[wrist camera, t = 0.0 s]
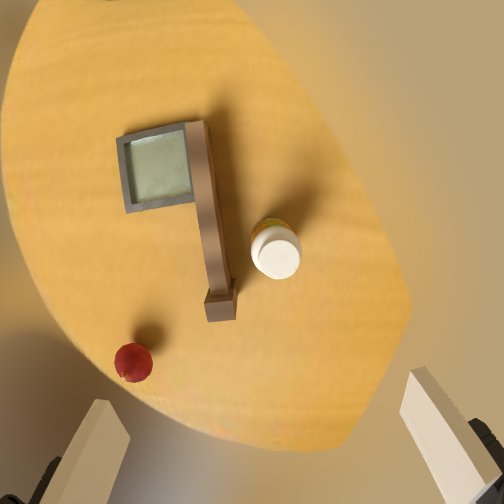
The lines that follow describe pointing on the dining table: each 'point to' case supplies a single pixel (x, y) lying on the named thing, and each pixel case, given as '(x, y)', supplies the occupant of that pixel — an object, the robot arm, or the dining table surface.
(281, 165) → the dining table surface
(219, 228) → the door edge rail
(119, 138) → the socket
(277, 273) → the supplement bottle
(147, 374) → the onion
